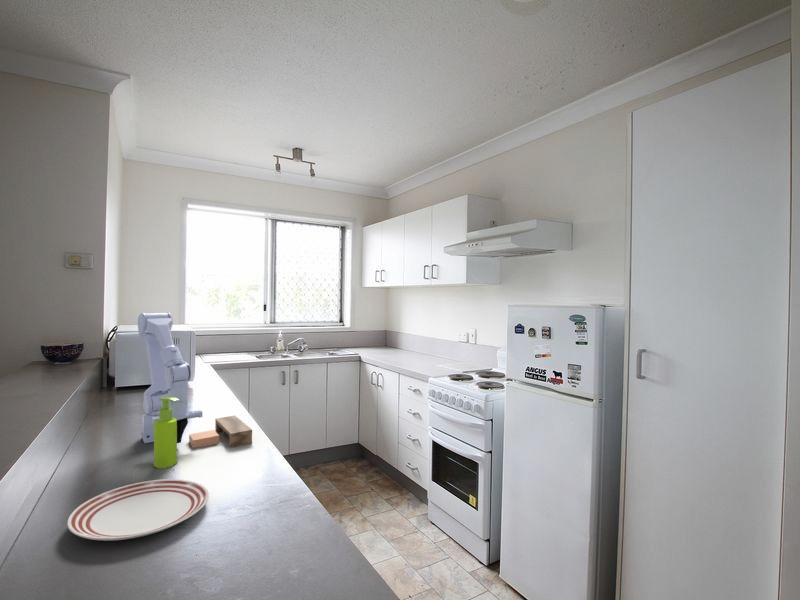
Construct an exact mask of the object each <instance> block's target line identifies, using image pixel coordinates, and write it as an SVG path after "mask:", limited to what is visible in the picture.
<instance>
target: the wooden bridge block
mask: <svg viewBox="0 0 800 600" xmlns="http://www.w3.org/2000/svg"><path fill="white" fill-rule="evenodd" d="M214 421H215V423H214V424H215V431H216V433H221V432H222V433H223V435H227V436H229V437H228V439H229V442H228V444H229V445H228V446H229V447H230V448H234V447H241V446H245V445H250V444H252V443H253V429H252V428H251V427H249V426H248V425H247V424H246V423H244V422H243V420H241V419H240V418H239V417H238V416H236V415H230V416H225V417H219V418H218V417H217V418H215V420H214ZM240 445H241V446H240Z"/></svg>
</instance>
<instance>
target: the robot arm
mask: <svg viewBox="0 0 800 600" xmlns="http://www.w3.org/2000/svg"><path fill="white" fill-rule="evenodd" d="M173 323H174V319H173V315H172V314H171V313H170V312H151V313H150V312H149V313H144V312H141V313H140V314H139V315H138V317H137V331H138V335H139V338H140V339H142V340H144V344H145V348H146V349H145V350H146V356H147V362H148V363H147V364H148V371H149V378H150V384H151V385H150V386H149V387H148V388H147V389H146V390H145V391H144V393H143V395H142V396H143V401H142V407H143V410H144V412H145V413H146V414H142V416H141V438H142V441H143V443H144V444H148V443H154V422H155V421H156V420H159V409H161V408H162V401H159V399H160V398H163V397H174V398H177V399H179V400H178V401H176V402H172V401H169V407H170V408H172V418H176V419H177V444H181V443H182V440H183V439H182V438H183V434H184V432H185V430H186V427H187V425H188V422H189V420H190V419H195V418H203V410H191V411H190V410H188V409H189V408H188V407H189V406H188V401H189V400H188V399H189V397H188V391H189V389H188V386H189V385H188V382H189V380H190V379H191V376H192V370H191V366H190V364H189V363H188V362H187V361H186V360H184V359H183V356H182V354H181V351H180V348H179V347H178V346H175V345H174V341H173V337H172V333H171V332H172V331H171V330H172V327H173ZM188 419H189V420H188Z"/></svg>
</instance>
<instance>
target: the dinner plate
mask: <svg viewBox="0 0 800 600" xmlns="http://www.w3.org/2000/svg"><path fill="white" fill-rule="evenodd" d="M209 498H210V497H209V491H208V489H207V487H206V486H204V485H202V484H201V483H198V482H196V481H192V480H187V479H179V478H177V479H176V478H170V479H168V478H167V479H166V478H165V479H154V480H153V479H151V480H147V481H146V480H145V481H140V482H136V483H132V484H126V485H124V486H120V487H117V488H113V489H110V490H108V491H105V492H102V493H101V494H98V495H96V496H94V497H92V498H90V499H88V500H86V501H85V502H82V504H80V505H78V507H76V508H75V509H74V510H73V512H71V514H70V515H69V517H68V519H67V523H66V524H67V525H66V526H67V528H68V530H69V531H70V532H71V533H72V534H74V535H76V536H77V537H80V538H82V539H83V538H84V539H87V540H93V541H107V542H108V541H122V540H130V539H135V538H136V539H137V538H141V537H145V536H149V535H153V534H155V533H159V532H161V531H165V530H167V529H169V528H172V527H174V526H176V525H179V524H180V523H182V522H183V521H185V520H187V519H189V518H190V517H191V518H192V517H193V516H194V515H196V514H198V512H199V511H200V510H202V509H203V507H205V506H206V504H207V502H208V500H209Z"/></svg>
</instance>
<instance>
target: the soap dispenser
mask: <svg viewBox="0 0 800 600" xmlns="http://www.w3.org/2000/svg"><path fill="white" fill-rule="evenodd" d="M178 400H179V399H177V398H174V397H163V398H160V399H159V401H162V408H161V409H159V420H156V421H155V422H154V442H153V445H154V446H153V450H154V451H153V459H154V461H153V462H154V463H153V465H154V466H155V467H157V468H156V469H166V468H165V467H168V468H170V467H169V466H171V467H173V466H172V465H174V464H175V465H177V464H178V461H177V459H178V453H177V452H178V445H177V444H178V443H177V419H176V418H172V408H170V407H169V401H172V402H176V401H178ZM175 465H174V466H175ZM154 466H153V467H154ZM155 467H154V468H155Z"/></svg>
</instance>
